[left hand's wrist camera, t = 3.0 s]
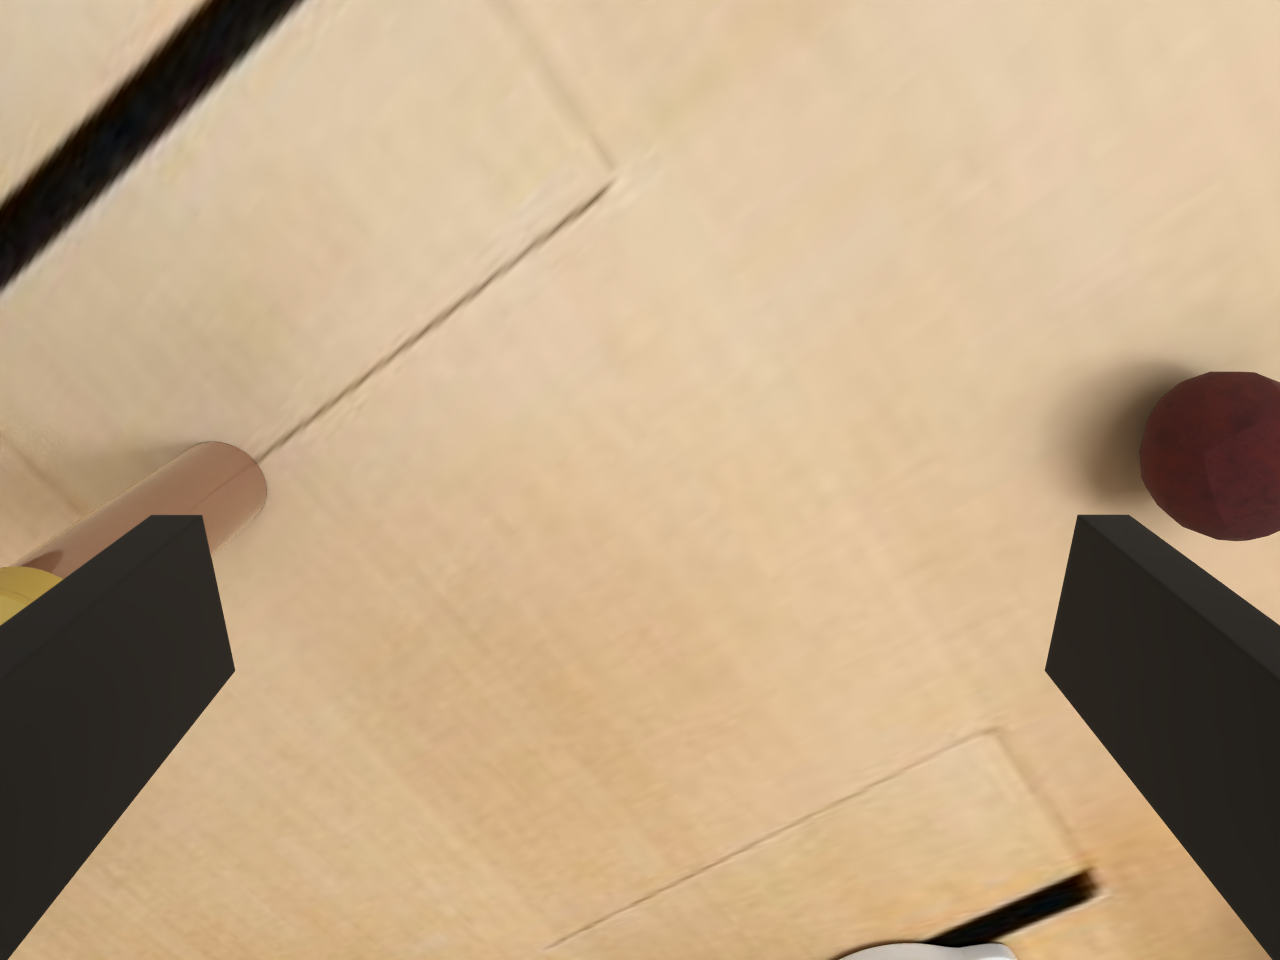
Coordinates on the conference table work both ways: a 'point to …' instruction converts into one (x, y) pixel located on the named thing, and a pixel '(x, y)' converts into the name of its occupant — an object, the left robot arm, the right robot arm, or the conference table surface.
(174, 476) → the jar
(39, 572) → the lid
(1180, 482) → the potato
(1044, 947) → the conference table surface
